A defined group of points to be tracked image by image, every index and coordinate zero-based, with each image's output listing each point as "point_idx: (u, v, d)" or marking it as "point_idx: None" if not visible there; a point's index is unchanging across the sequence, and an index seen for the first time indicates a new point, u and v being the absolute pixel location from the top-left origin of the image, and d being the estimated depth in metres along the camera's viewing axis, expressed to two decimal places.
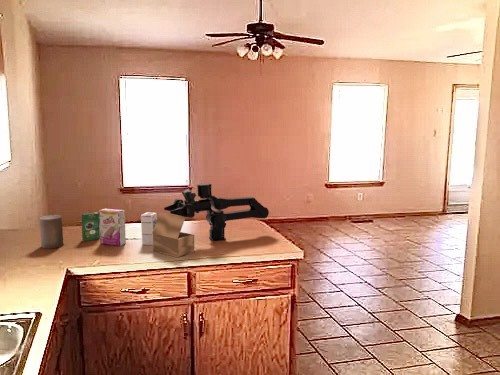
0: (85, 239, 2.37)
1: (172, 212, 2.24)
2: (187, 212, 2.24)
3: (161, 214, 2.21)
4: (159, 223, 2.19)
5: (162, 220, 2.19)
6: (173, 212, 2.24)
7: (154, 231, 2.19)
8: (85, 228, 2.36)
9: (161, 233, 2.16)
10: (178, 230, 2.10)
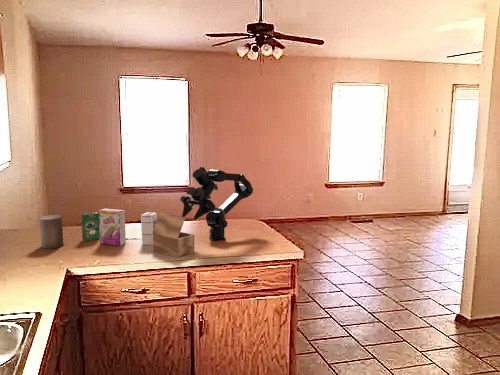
0: (85, 239, 2.37)
1: (196, 218, 2.22)
2: (207, 208, 2.23)
3: (161, 214, 2.21)
4: (159, 223, 2.19)
5: (162, 220, 2.19)
6: (196, 217, 2.22)
7: (154, 231, 2.19)
8: (85, 228, 2.36)
9: (161, 233, 2.16)
10: (178, 230, 2.10)
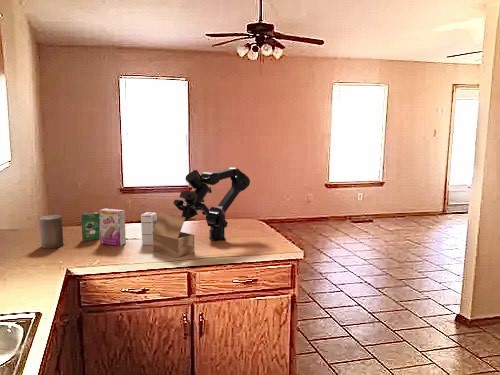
0: (85, 239, 2.37)
1: None
2: (195, 211, 2.22)
3: (161, 214, 2.21)
4: (159, 223, 2.19)
5: (162, 220, 2.19)
6: None
7: (154, 231, 2.19)
8: (85, 228, 2.36)
9: (161, 233, 2.16)
10: (178, 230, 2.10)
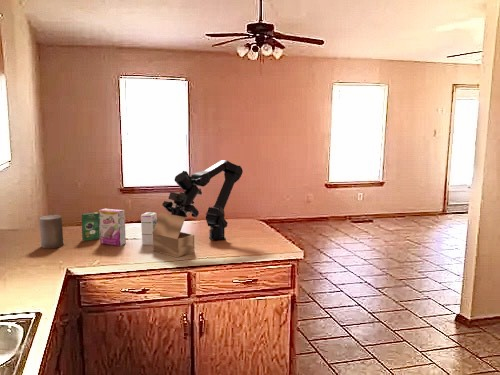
0: (85, 239, 2.37)
1: None
2: (184, 213, 2.17)
3: (161, 214, 2.21)
4: (159, 223, 2.19)
5: (162, 220, 2.19)
6: None
7: (154, 231, 2.19)
8: (85, 228, 2.36)
9: (161, 233, 2.16)
10: (178, 230, 2.10)
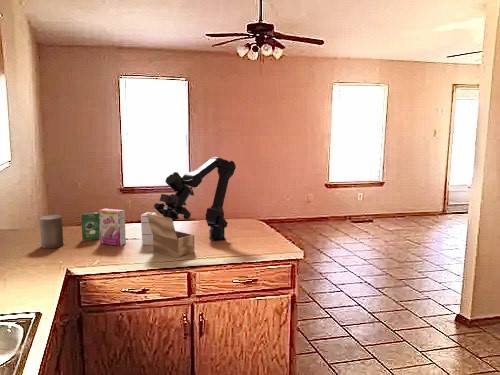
0: (85, 239, 2.37)
1: None
2: (176, 215, 2.14)
3: (148, 215, 2.15)
4: (152, 224, 2.16)
5: (153, 221, 2.15)
6: None
7: (153, 232, 2.18)
8: (85, 228, 2.36)
9: (160, 234, 2.15)
10: (173, 231, 2.08)
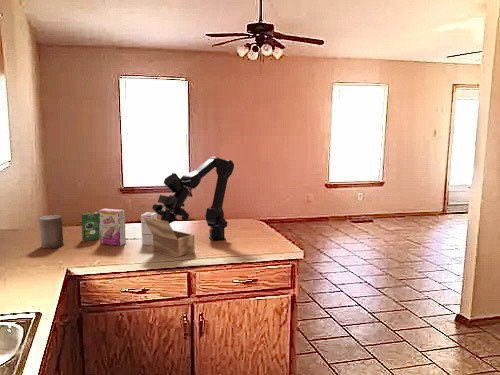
0: (85, 239, 2.37)
1: None
2: (174, 216, 2.13)
3: (145, 218, 2.14)
4: (151, 226, 2.15)
5: (150, 223, 2.14)
6: None
7: (152, 232, 2.18)
8: (85, 228, 2.36)
9: (160, 234, 2.15)
10: (171, 232, 2.08)
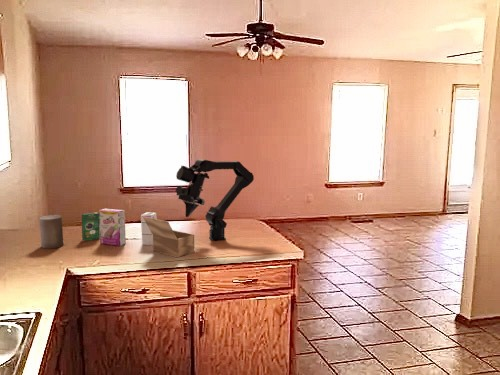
0: (85, 239, 2.37)
1: (187, 215, 2.30)
2: (189, 202, 2.28)
3: (145, 218, 2.14)
4: (151, 226, 2.15)
5: (150, 223, 2.14)
6: (187, 214, 2.30)
7: (152, 232, 2.18)
8: (85, 228, 2.36)
9: (160, 234, 2.15)
10: (171, 232, 2.08)
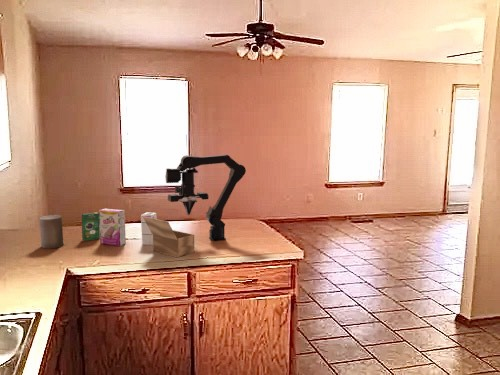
0: (85, 239, 2.37)
1: (187, 213, 2.35)
2: (181, 201, 2.32)
3: (145, 218, 2.14)
4: (151, 226, 2.15)
5: (150, 223, 2.14)
6: (187, 212, 2.35)
7: (152, 232, 2.18)
8: (85, 228, 2.36)
9: (160, 234, 2.15)
10: (171, 232, 2.08)
